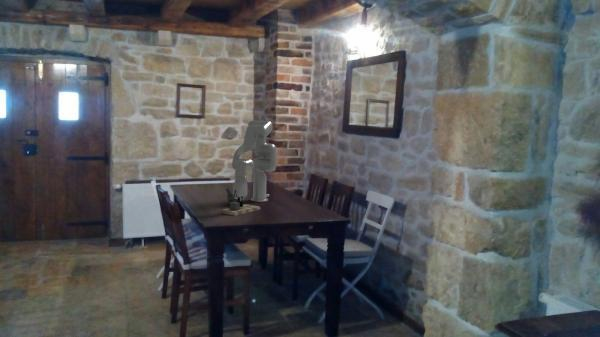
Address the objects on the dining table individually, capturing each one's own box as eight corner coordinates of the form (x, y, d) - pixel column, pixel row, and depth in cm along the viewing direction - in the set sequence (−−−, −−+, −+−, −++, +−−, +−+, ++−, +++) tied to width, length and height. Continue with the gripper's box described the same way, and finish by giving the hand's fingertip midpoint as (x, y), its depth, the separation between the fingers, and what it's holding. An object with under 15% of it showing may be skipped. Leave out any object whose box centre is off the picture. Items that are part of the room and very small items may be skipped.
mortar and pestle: (238, 203, 344) (238, 186, 343) (243, 205, 336) (243, 188, 335) (223, 204, 339) (223, 187, 338) (227, 206, 331) (228, 189, 329)
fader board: (246, 207, 331) (246, 204, 331) (260, 209, 325) (260, 206, 325) (220, 213, 310) (220, 209, 309) (235, 215, 303) (235, 212, 303)
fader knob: (233, 208, 315) (233, 201, 314) (239, 209, 312) (239, 202, 311) (229, 209, 311) (229, 202, 311) (235, 210, 308) (235, 203, 308)
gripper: (243, 177, 322) (243, 204, 324) (228, 179, 310) (228, 207, 312) (252, 178, 318) (251, 206, 320) (237, 180, 306) (237, 209, 308)
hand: (240, 206), depth 316 cm, fingers closed
